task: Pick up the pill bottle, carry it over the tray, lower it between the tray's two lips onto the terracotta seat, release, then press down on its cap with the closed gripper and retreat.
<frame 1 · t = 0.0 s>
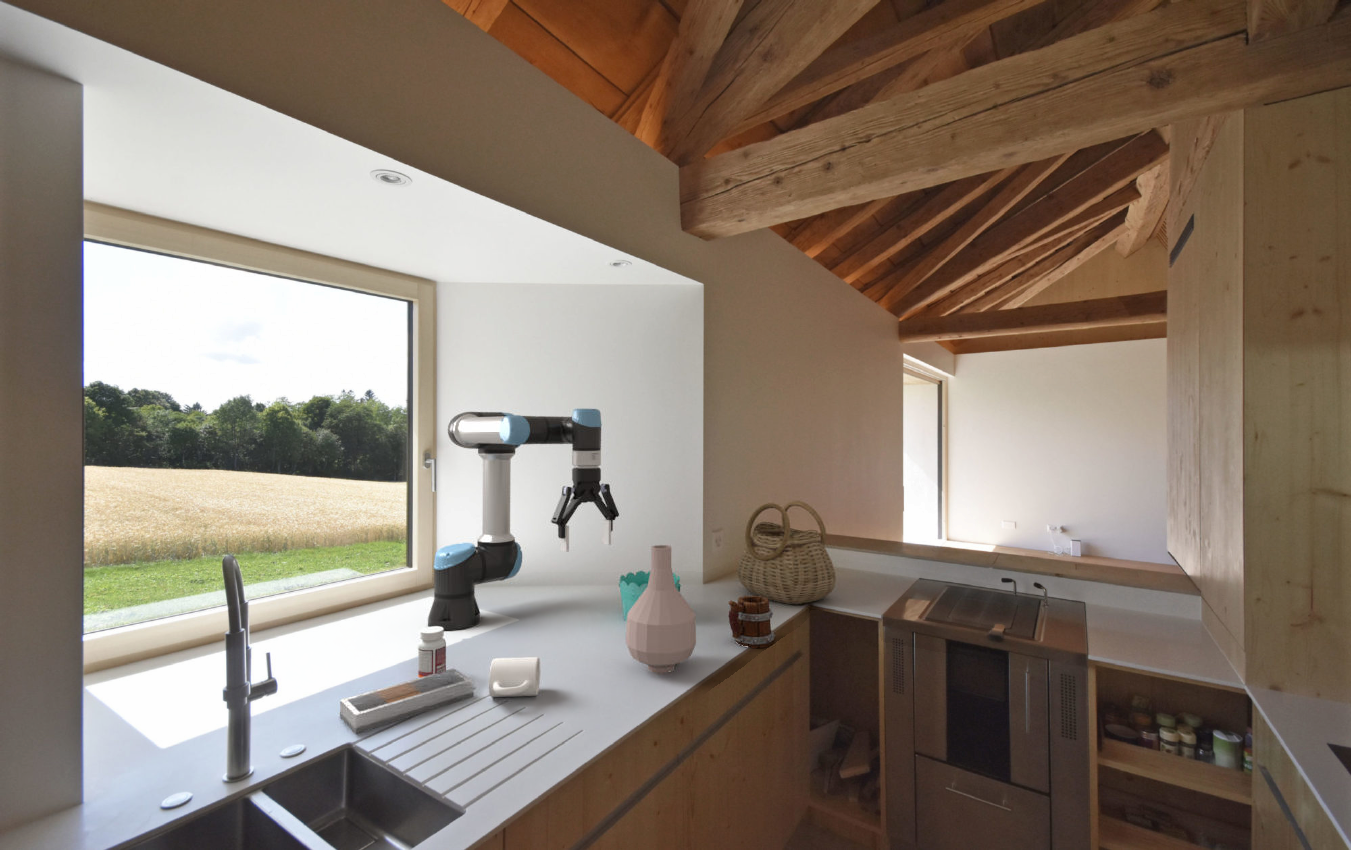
hand: (586, 547, 161), 28 cm above the countertop, fingers open, 13 cm apart
mug 2: (749, 643, 170), on the countertop
basket: (785, 596, 219), on the countertop
bucket: (649, 617, 193), on the countertop
pill bottle: (432, 677, 146), on the countertop
mug: (513, 699, 134), on the countertop
vase: (661, 668, 152), on the countertop
tray: (408, 706, 130), on the countertop
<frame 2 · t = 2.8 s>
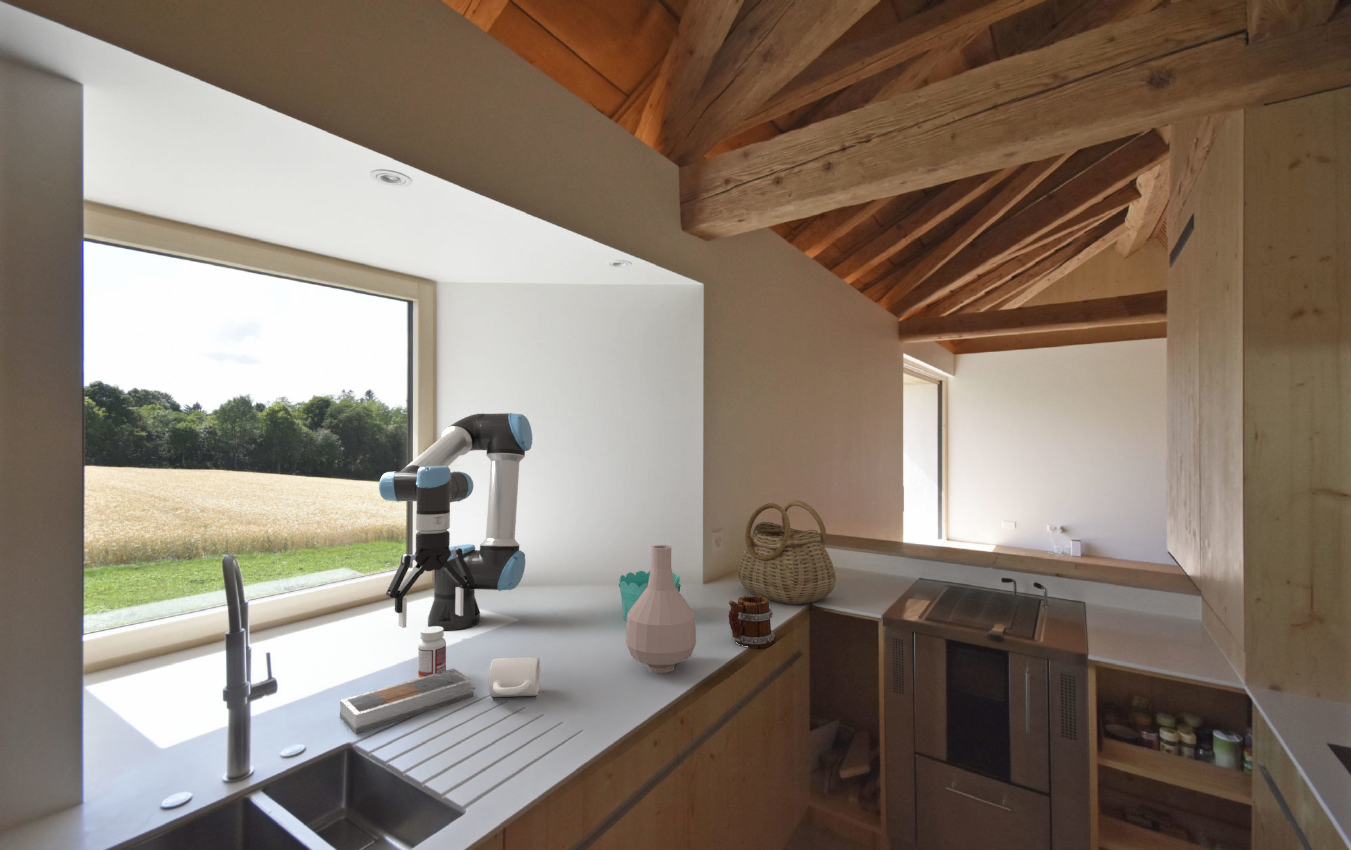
hand: (431, 620, 146), 14 cm above the countertop, fingers open, 13 cm apart
nothing on the countertop moved.
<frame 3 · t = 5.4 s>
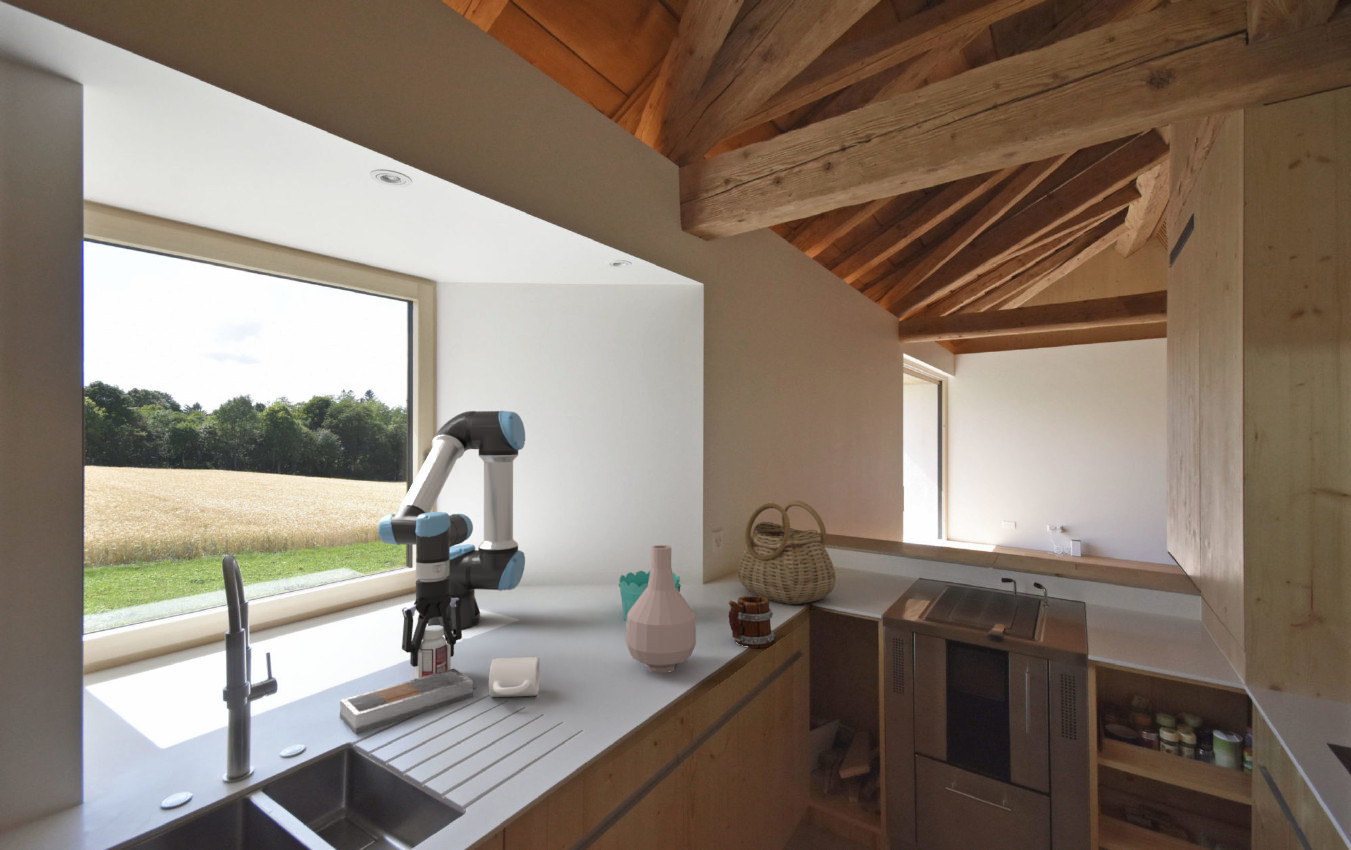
hand: (432, 674, 146), 0 cm above the countertop, fingers closed on pill bottle, 6 cm apart
pill bottle: (432, 676, 146), on the countertop, touching gripper
everything else where it was.
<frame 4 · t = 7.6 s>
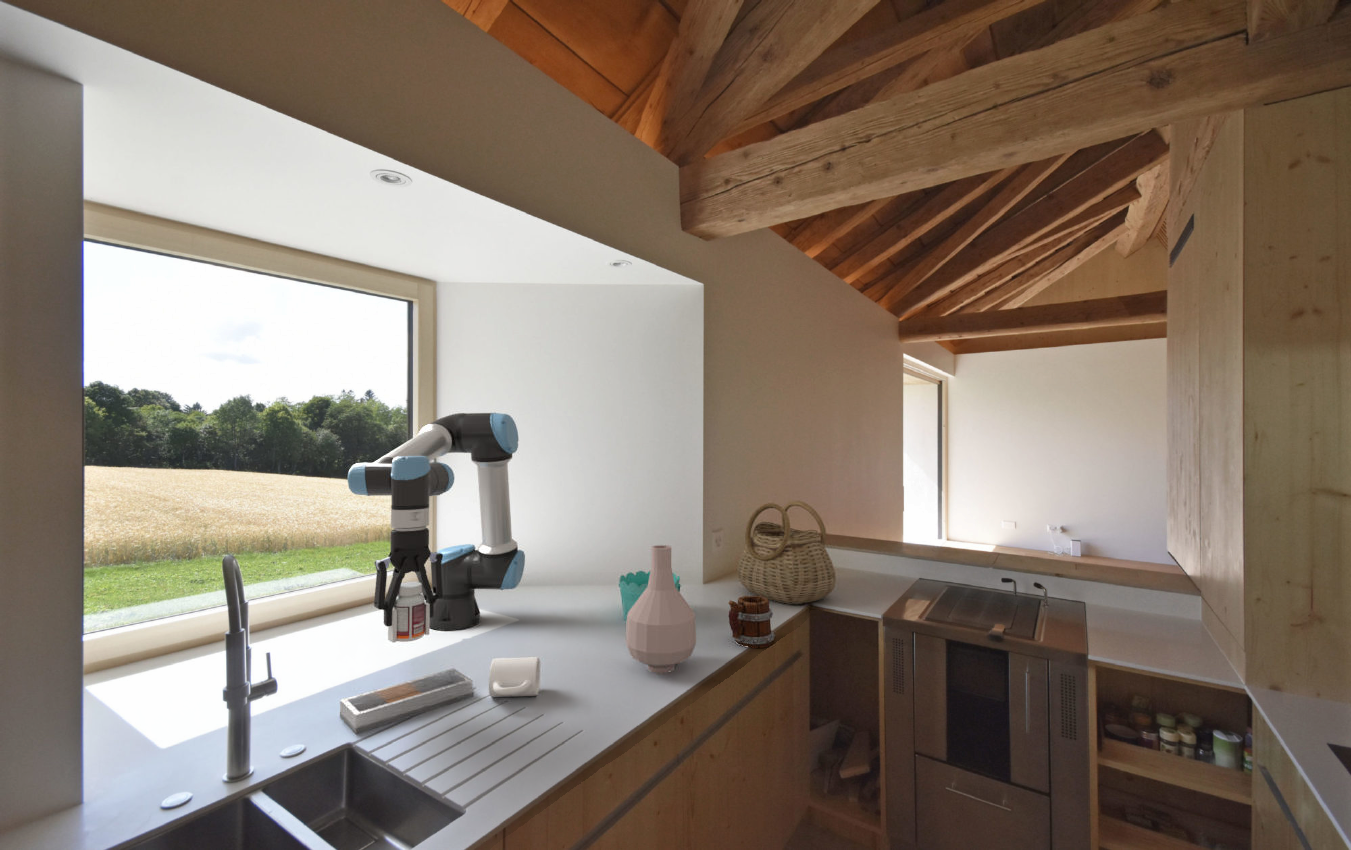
hand: (408, 636, 130), 15 cm above the countertop, fingers closed on pill bottle, 6 cm apart
pill bottle: (408, 638, 130), point 14 cm above the countertop, touching gripper
everything else where it was.
when the fingers open (2 cm above the countertop, at t = 9.9 s): pill bottle stays where it is, resting on tray.
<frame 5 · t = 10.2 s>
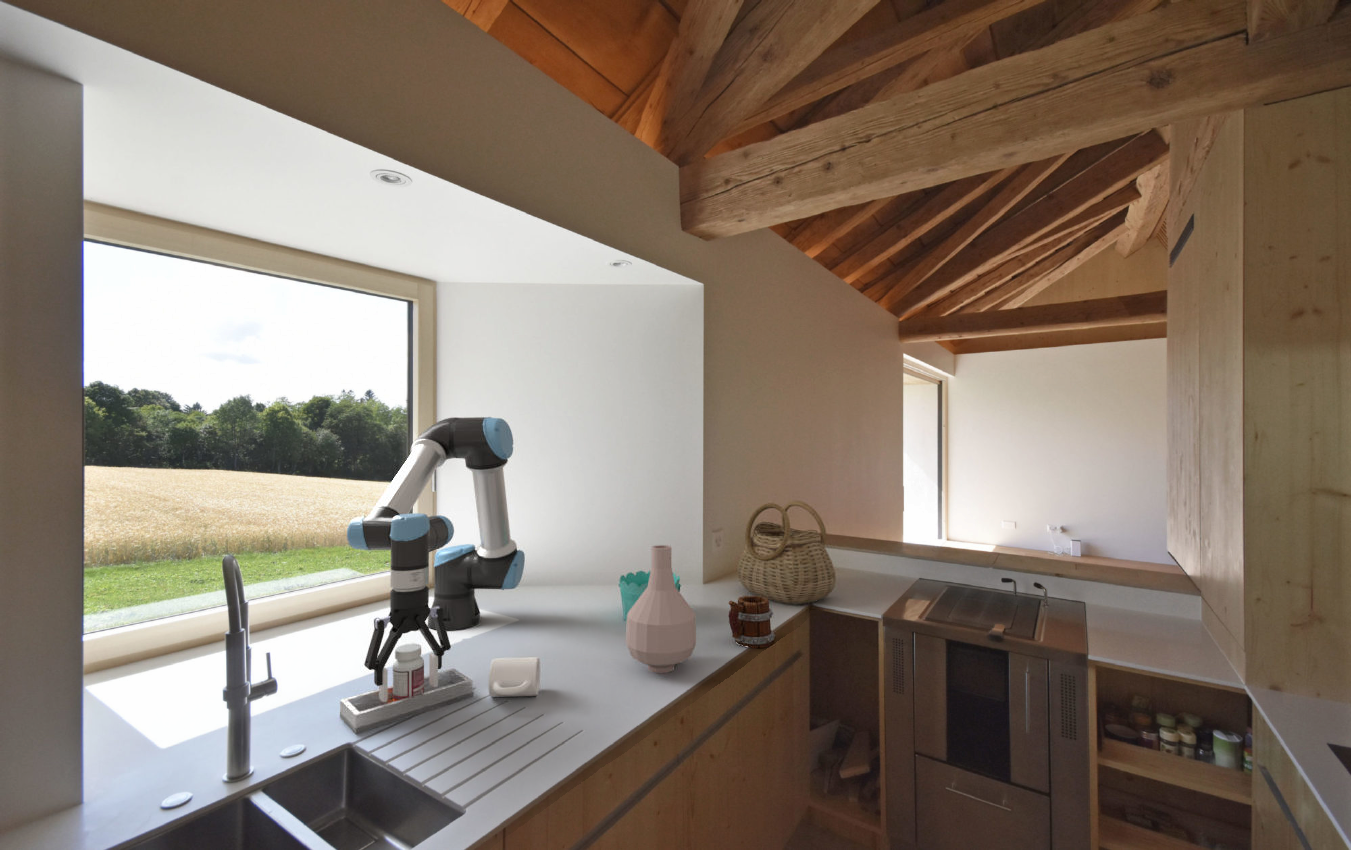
hand: (409, 691, 130), 3 cm above the countertop, fingers open, 10 cm apart
pill bottle: (408, 701, 130), point 1 cm above the countertop, touching tray
everything else where it was.
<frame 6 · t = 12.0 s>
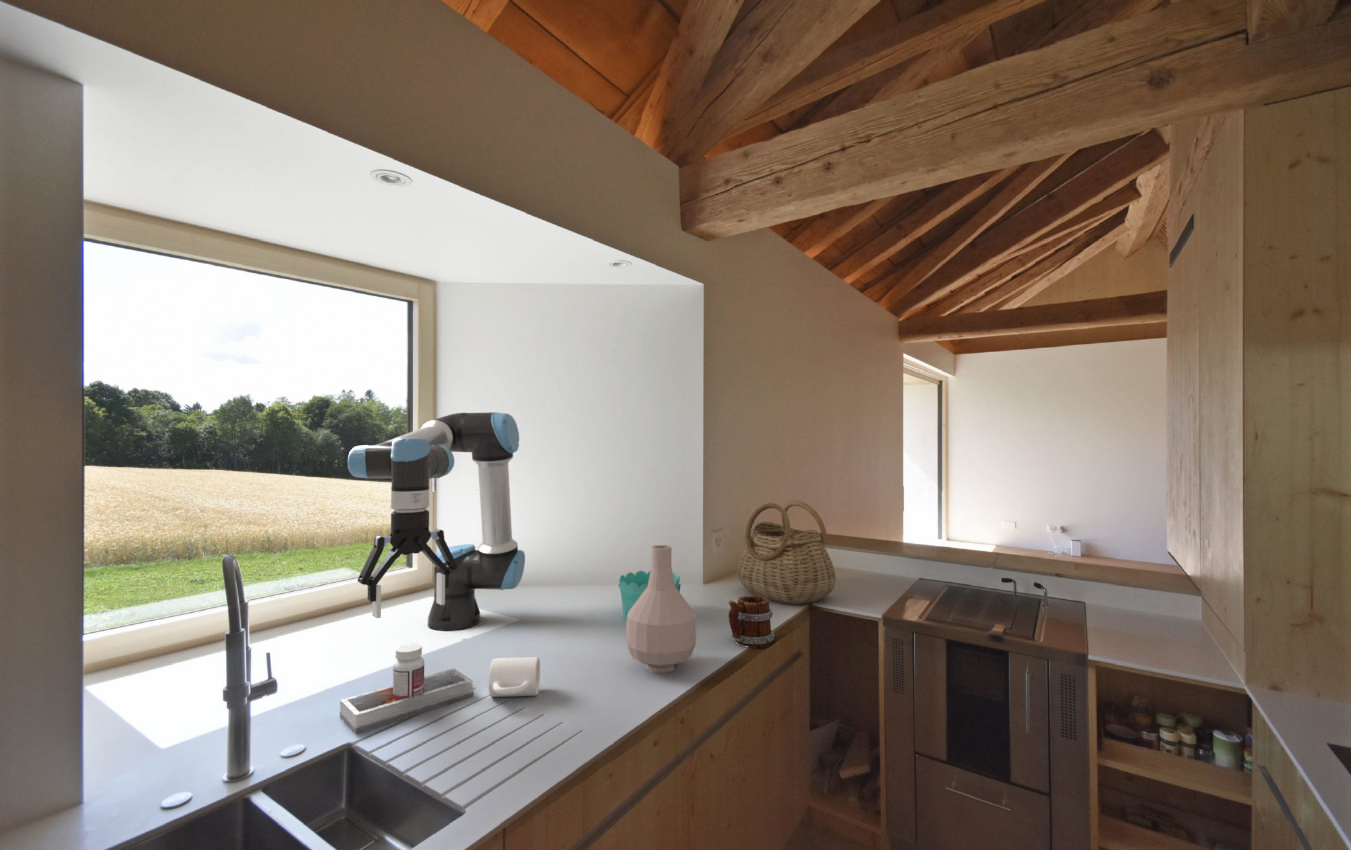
hand: (409, 609, 130), 20 cm above the countertop, fingers open, 13 cm apart
nothing on the countertop moved.
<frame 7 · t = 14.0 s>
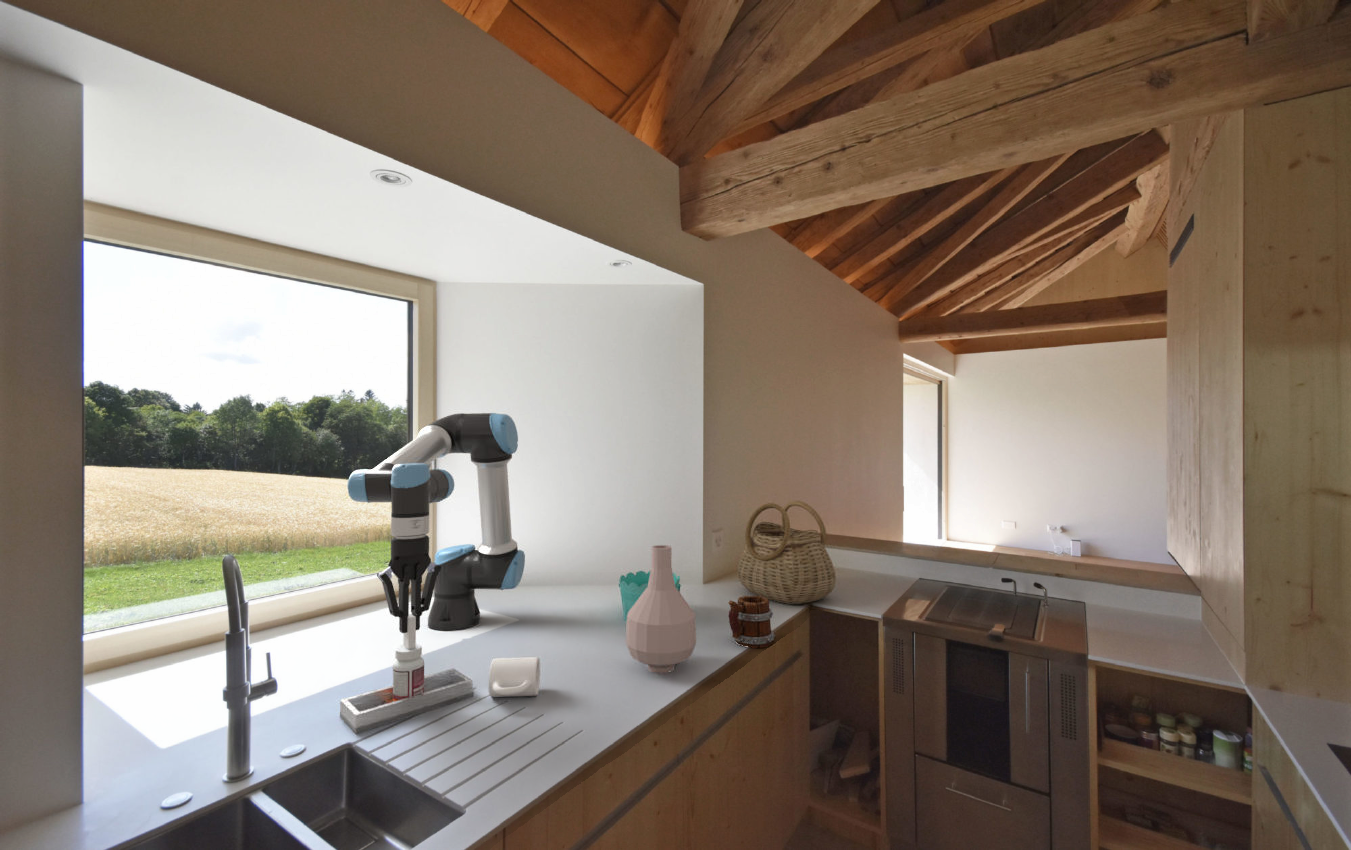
hand: (409, 646, 130), 13 cm above the countertop, fingers closed
pill bottle: (408, 701, 130), point 1 cm above the countertop, touching gripper, tray
everything else where it was.
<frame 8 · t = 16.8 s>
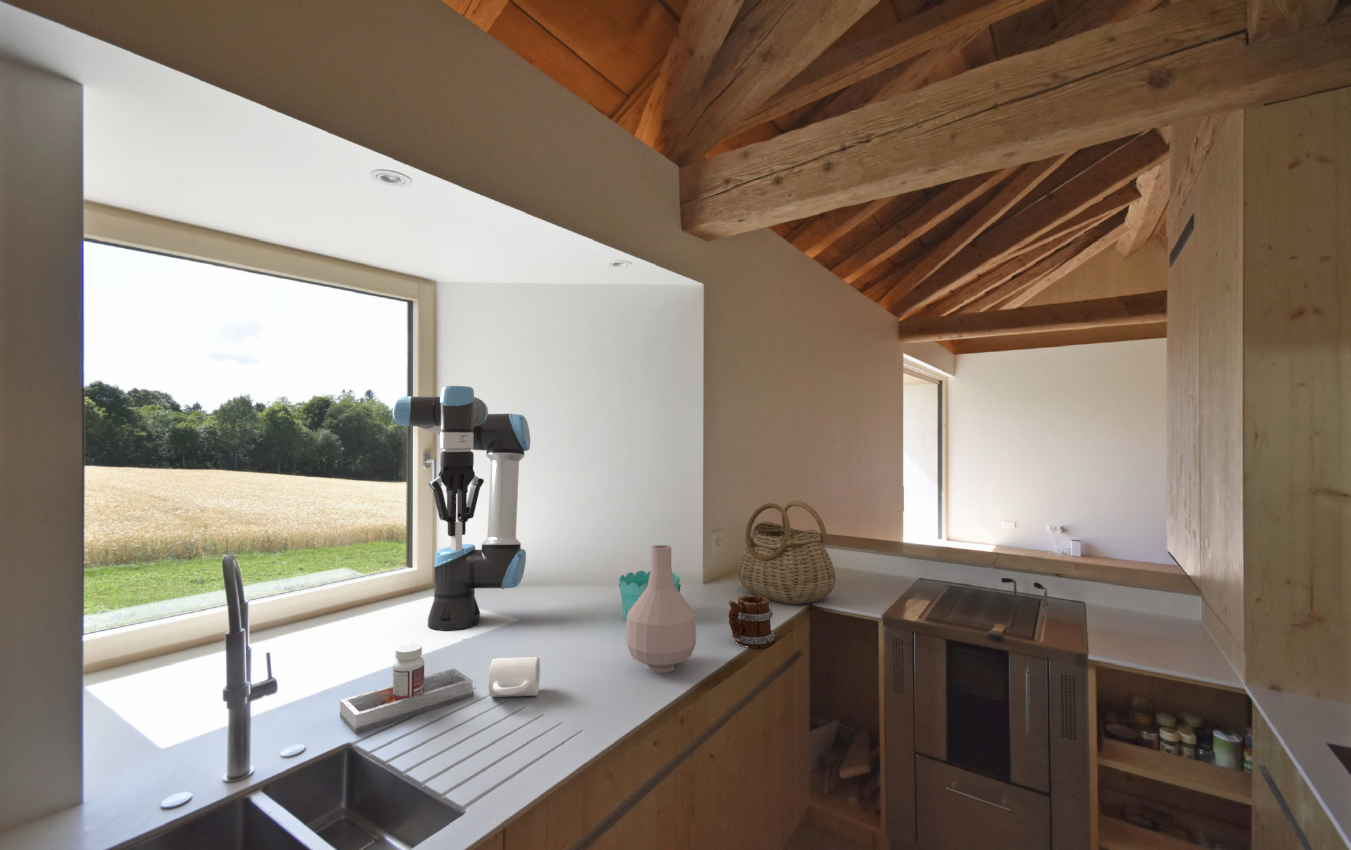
hand: (456, 549, 146), 30 cm above the countertop, fingers closed
pill bottle: (408, 701, 130), point 1 cm above the countertop, touching tray
everything else where it was.
at the end: pill bottle inside the target area on the tray (0.2 cm from its centre), point 0.9 cm above the tray's base; pill bottle tilted 0°; the gripper is holding nothing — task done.
